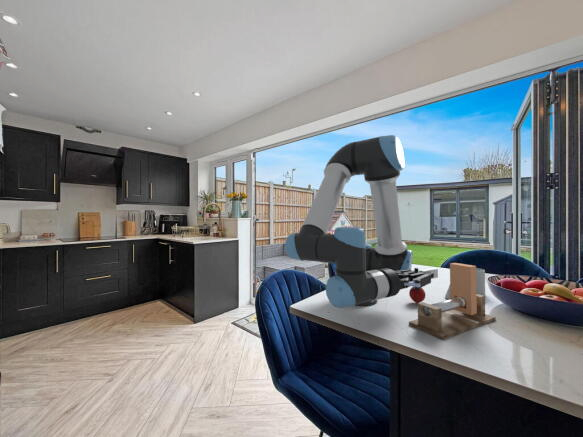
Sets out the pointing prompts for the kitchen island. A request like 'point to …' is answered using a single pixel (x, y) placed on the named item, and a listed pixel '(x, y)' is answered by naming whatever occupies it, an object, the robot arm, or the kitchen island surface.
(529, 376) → the kitchen island surface
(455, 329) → the rig board
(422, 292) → the onion
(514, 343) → the kitchen island surface
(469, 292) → the upright wooden plank
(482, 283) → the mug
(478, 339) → the kitchen island surface
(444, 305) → the pipe
